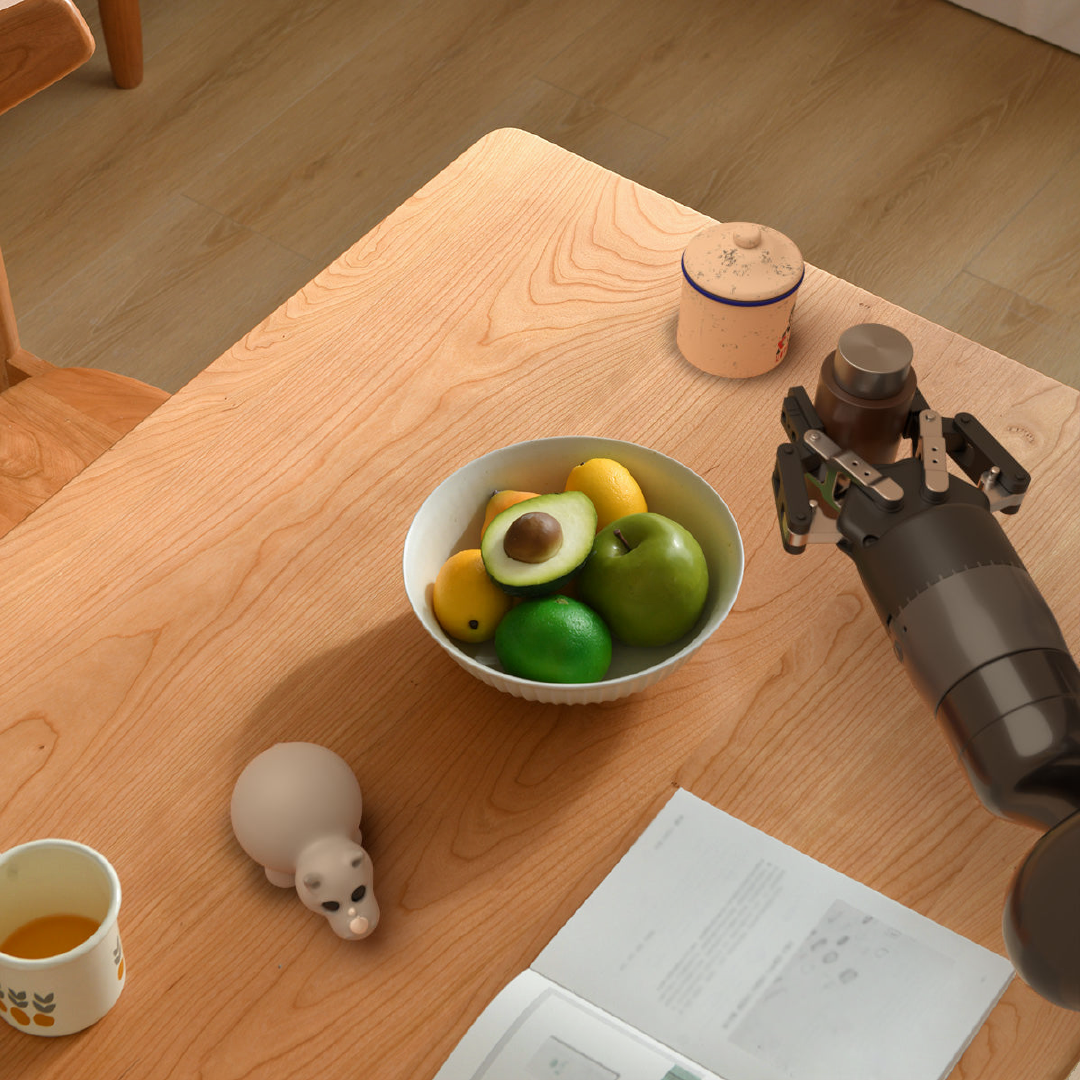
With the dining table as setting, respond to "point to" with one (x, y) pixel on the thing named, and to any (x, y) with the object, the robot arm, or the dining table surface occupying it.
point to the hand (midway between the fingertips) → (840, 389)
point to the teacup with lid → (738, 299)
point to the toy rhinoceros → (308, 832)
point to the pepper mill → (865, 396)
